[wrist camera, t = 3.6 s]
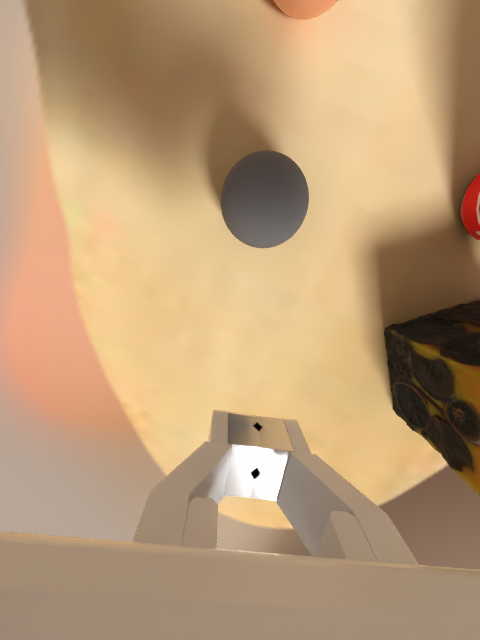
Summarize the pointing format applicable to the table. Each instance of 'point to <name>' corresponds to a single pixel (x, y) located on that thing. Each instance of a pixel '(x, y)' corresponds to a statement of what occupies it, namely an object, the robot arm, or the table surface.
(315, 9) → the terracotta egg
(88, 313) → the table surface
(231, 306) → the table surface
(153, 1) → the table surface
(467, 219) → the beer can
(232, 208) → the gray ball
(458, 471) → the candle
